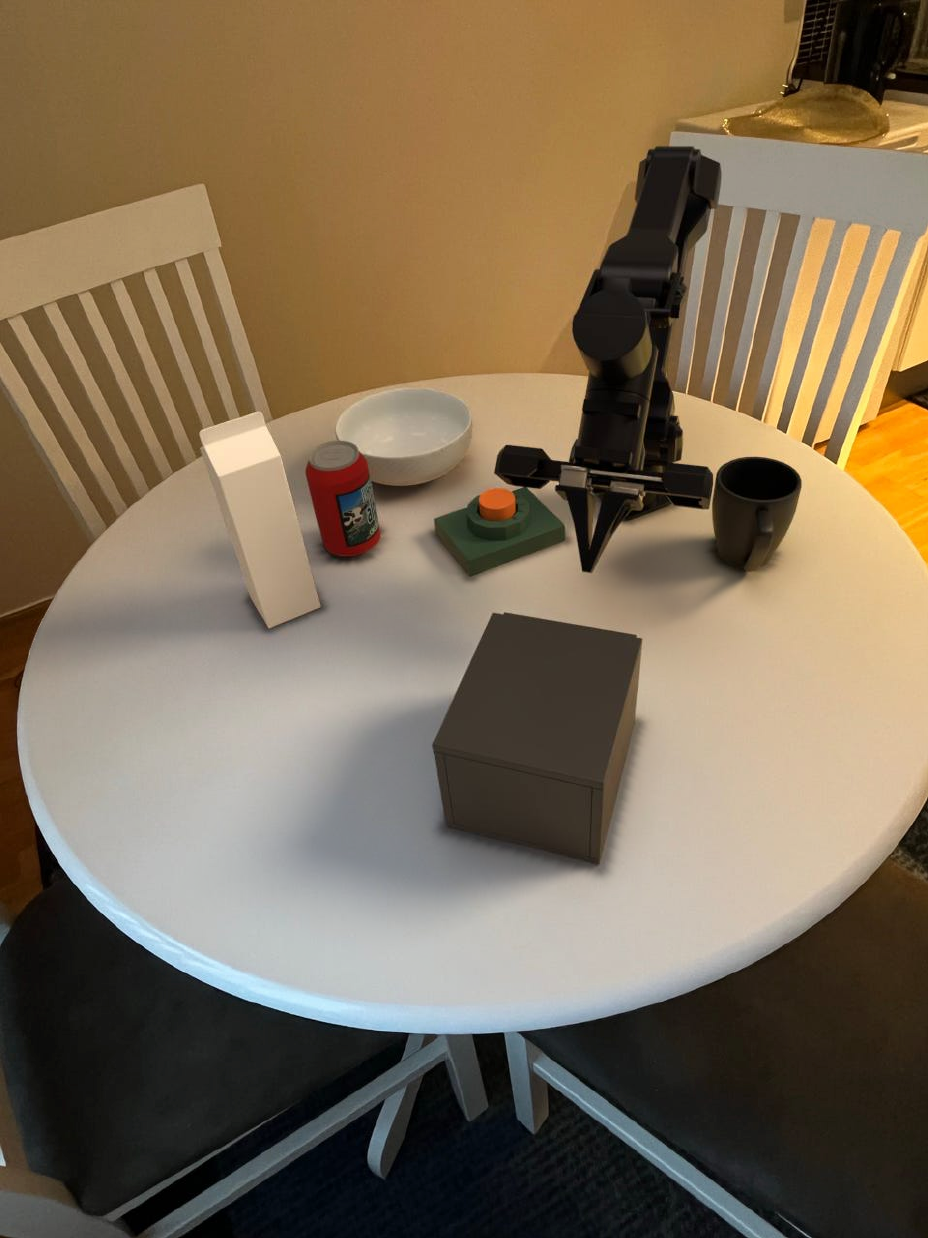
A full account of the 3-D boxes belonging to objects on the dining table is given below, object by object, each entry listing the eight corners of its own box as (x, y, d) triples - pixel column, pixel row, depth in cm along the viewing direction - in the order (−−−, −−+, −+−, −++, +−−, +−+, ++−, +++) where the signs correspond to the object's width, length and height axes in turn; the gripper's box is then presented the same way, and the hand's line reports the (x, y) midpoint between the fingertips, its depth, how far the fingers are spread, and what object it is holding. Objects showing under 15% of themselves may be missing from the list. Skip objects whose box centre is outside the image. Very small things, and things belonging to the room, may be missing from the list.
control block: (526, 501, 100) (525, 473, 97) (565, 540, 94) (565, 511, 91) (435, 533, 96) (431, 505, 94) (469, 576, 90) (467, 547, 88)
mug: (706, 599, 85) (718, 523, 78) (704, 527, 93) (714, 454, 87) (791, 604, 83) (811, 527, 77) (781, 531, 92) (797, 457, 85)
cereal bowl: (354, 517, 100) (343, 467, 95) (337, 448, 112) (327, 400, 107) (490, 489, 102) (486, 439, 97) (459, 424, 114) (454, 376, 109)
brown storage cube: (499, 696, 77) (492, 612, 70) (634, 723, 74) (642, 637, 66) (445, 826, 67) (431, 744, 60) (599, 865, 64) (604, 783, 57)
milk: (321, 608, 89) (274, 424, 73) (267, 630, 87) (208, 446, 72) (300, 577, 93) (252, 397, 77) (249, 597, 91) (188, 417, 76)
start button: (505, 496, 94) (504, 483, 93) (522, 514, 92) (521, 501, 90) (473, 508, 93) (472, 495, 92) (490, 526, 91) (489, 513, 89)
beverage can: (372, 563, 93) (354, 472, 85) (315, 559, 95) (292, 469, 86) (388, 527, 98) (372, 438, 90) (334, 524, 99) (313, 435, 91)
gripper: (724, 433, 79) (695, 595, 79) (534, 414, 84) (508, 566, 85) (726, 398, 68) (693, 586, 68) (508, 379, 74) (478, 553, 74)
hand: (587, 572), depth 74 cm, fingers closed
